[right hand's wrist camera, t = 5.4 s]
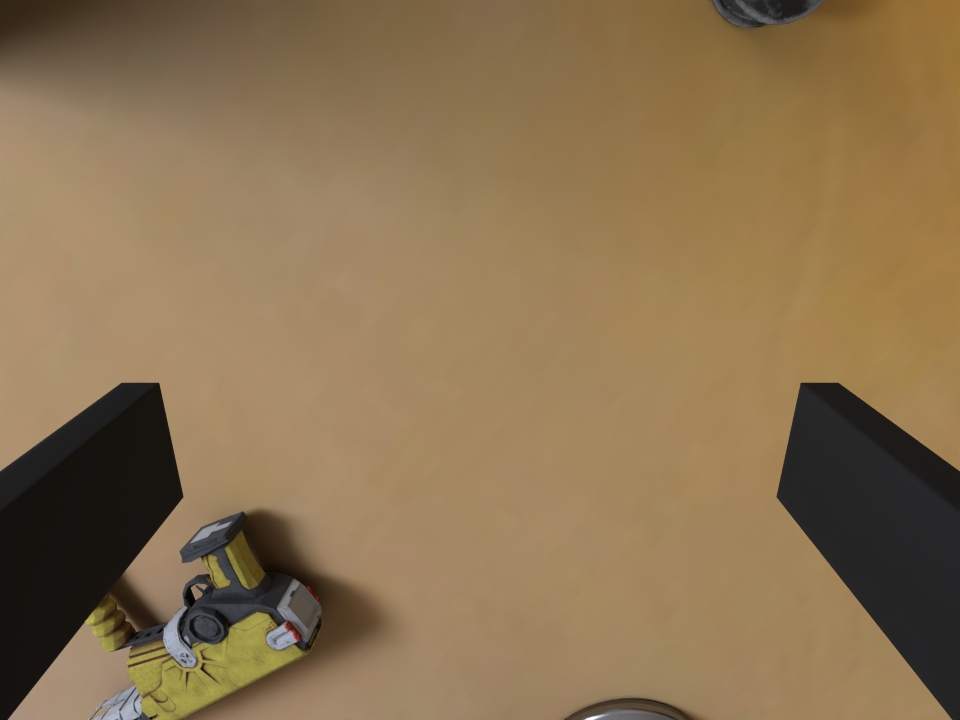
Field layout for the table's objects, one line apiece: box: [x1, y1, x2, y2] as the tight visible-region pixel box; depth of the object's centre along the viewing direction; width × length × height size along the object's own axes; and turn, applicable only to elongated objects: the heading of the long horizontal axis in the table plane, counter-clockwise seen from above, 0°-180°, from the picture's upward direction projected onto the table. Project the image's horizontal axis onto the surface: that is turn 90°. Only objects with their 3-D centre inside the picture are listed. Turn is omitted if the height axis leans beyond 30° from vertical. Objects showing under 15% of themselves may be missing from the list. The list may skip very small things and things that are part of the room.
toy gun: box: [85, 512, 323, 720], centre depth 48 cm, size 5×24×15 cm
